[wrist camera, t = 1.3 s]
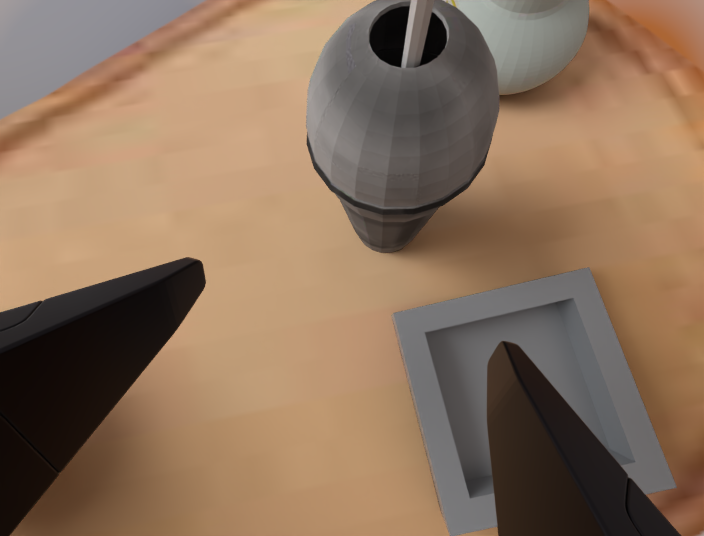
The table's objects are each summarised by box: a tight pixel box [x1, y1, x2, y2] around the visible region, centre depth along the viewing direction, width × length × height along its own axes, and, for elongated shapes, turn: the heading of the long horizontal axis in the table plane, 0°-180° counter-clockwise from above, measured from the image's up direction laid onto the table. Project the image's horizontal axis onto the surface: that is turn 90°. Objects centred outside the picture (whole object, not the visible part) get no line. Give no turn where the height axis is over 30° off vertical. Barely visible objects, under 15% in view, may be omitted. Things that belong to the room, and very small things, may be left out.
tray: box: [391, 267, 677, 536], centre depth 19 cm, size 13×13×2 cm
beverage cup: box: [306, 0, 499, 253], centre depth 14 cm, size 7×7×20 cm
